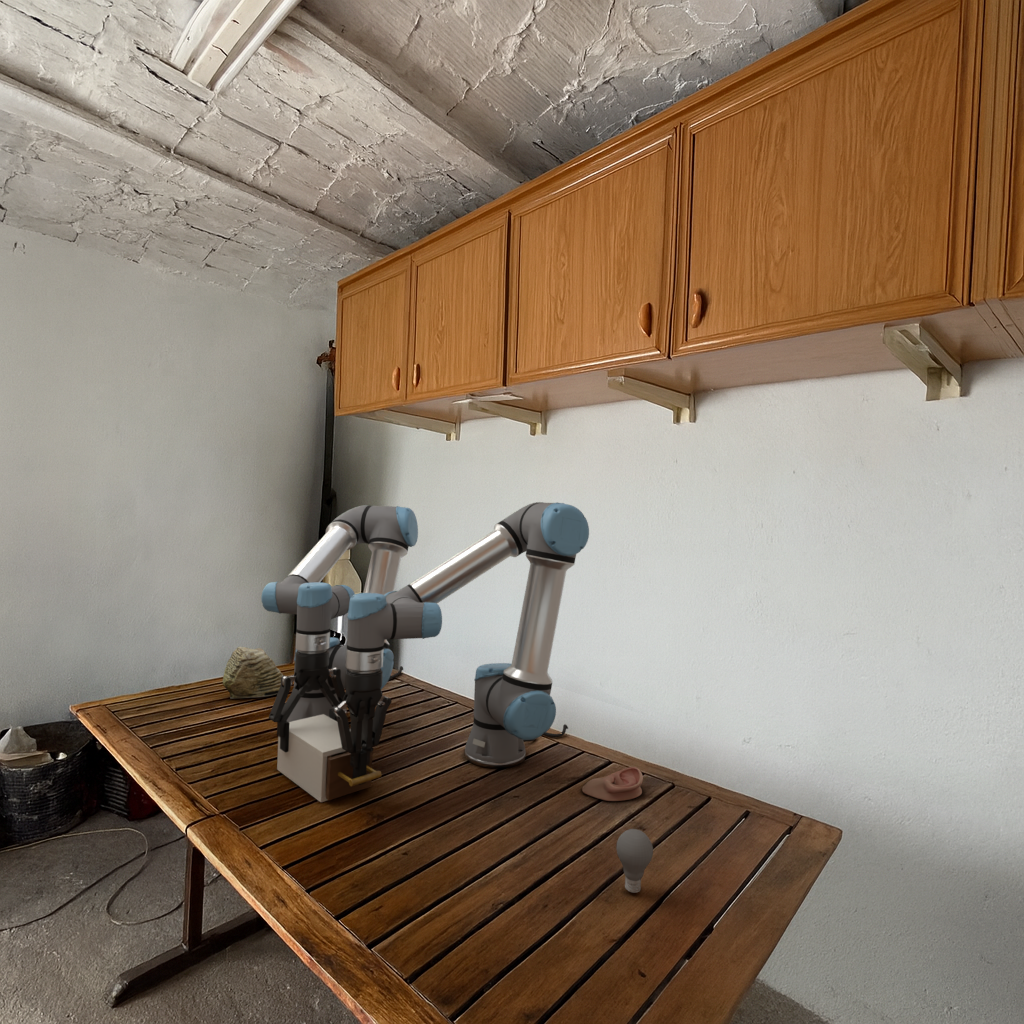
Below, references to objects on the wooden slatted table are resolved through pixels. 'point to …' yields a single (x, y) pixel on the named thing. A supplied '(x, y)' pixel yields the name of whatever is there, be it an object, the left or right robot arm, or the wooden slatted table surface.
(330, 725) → the cabinet
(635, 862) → the light bulb
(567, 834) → the wooden slatted table surface
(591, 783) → the anatomical model
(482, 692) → the right robot arm
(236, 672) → the fossil
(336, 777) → the drawer
